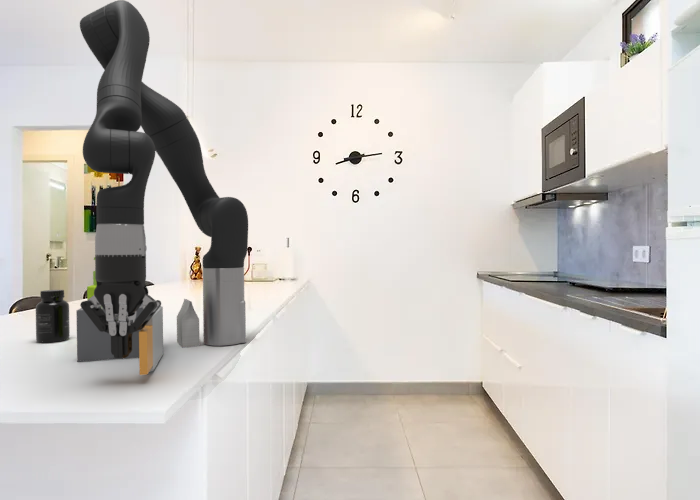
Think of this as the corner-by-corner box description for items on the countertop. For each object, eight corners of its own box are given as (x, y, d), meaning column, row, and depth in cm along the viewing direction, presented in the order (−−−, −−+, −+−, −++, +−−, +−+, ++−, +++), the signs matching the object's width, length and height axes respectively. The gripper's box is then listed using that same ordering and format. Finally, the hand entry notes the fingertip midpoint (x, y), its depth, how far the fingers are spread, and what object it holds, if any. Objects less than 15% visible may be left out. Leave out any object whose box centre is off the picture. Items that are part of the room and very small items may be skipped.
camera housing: (160, 343, 108) (159, 296, 108) (154, 356, 96) (154, 303, 96) (92, 348, 104) (91, 299, 104) (77, 361, 92) (76, 306, 92)
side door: (157, 352, 96) (156, 306, 96) (163, 352, 97) (163, 306, 97) (139, 381, 77) (138, 322, 76) (147, 380, 77) (146, 322, 77)
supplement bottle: (75, 339, 114) (74, 289, 114) (44, 344, 108) (43, 292, 108) (60, 336, 118) (60, 288, 117) (30, 341, 112) (29, 291, 112)
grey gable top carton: (182, 347, 104) (181, 302, 104) (177, 342, 110) (176, 299, 109) (199, 345, 106) (199, 301, 105) (193, 340, 111) (192, 298, 111)
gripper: (67, 252, 74) (68, 362, 74) (150, 253, 74) (150, 363, 74) (94, 251, 82) (95, 351, 82) (170, 251, 81) (170, 352, 81)
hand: (121, 357), depth 78 cm, fingers closed
